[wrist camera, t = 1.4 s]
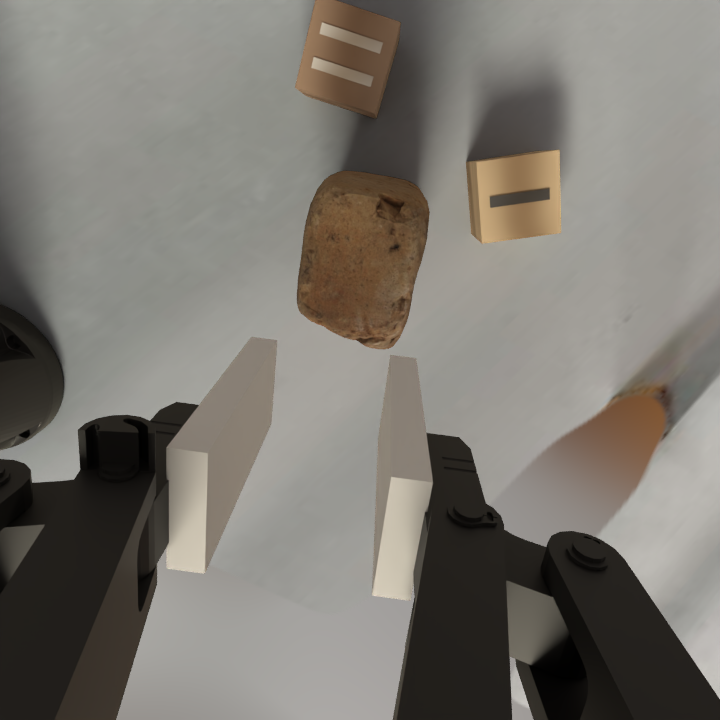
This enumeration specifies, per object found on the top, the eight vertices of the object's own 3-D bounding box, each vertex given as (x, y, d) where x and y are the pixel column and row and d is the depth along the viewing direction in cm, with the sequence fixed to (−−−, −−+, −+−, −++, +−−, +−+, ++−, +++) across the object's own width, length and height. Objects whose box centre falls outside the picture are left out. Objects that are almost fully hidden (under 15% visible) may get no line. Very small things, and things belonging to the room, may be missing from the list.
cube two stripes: (306, 96, 45) (294, 87, 40) (326, 15, 43) (316, -7, 38) (376, 119, 46) (374, 113, 40) (399, 39, 44) (400, 21, 38)
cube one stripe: (471, 233, 48) (482, 243, 43) (465, 161, 46) (476, 162, 41) (540, 224, 48) (561, 232, 42) (538, 150, 46) (559, 149, 40)
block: (339, 163, 47) (307, 166, 28) (425, 183, 47) (450, 199, 28) (315, 285, 51) (272, 360, 32) (395, 303, 51) (399, 388, 32)
